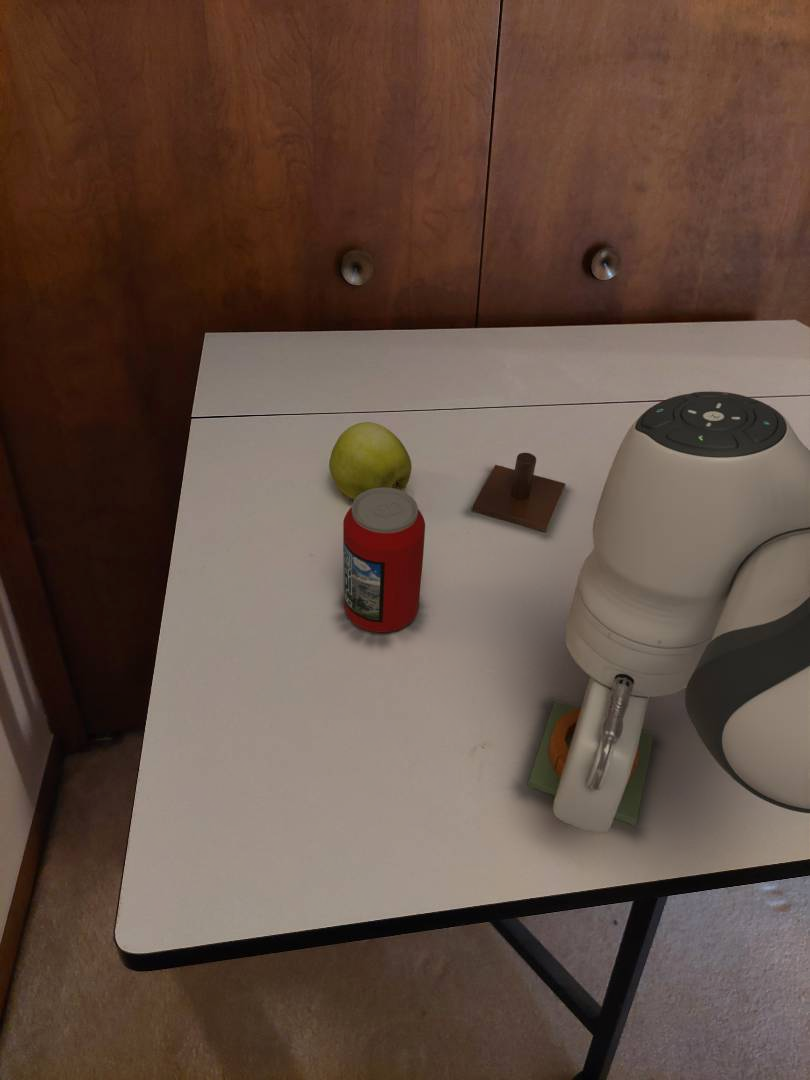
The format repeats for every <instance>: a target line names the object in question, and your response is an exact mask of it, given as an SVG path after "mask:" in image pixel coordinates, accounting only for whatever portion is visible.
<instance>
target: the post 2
mask: <svg viewBox="0 0 810 1080" xmlns="http://www.w3.org/2000/svg"><path fill="white" fill-rule="evenodd" d="M574 709H579V708H578V707H575V706H572V705H570V704H567V703H564V702H560V701H558V700H554V702H553V705H552V707H551V711H550V713H549V716H548V720H547V723H546V726H545V730H544V732H543V735H542V737H541V742H540V743H539V744H540V745H539V747H538V751H537V754H536V757H535V760H534V763H533V766H532V769H531V772H530V775H529V778H528V781H527V787H529V788H532V789H535V790H537V791H540V792H543V793H546V794H548V795H551V796H554V797H555V796H556V793H557V789H558V786H559V783H560V779H561V777H560V776H559V775H558V774H557V773H556V772H555V770H554V769H553V767H552V764H551V760H550V757H549V754H548V747H549V744H550V740H551V737H552V734H553V730H554V727H555V724H556V722H557V720H558V719H560V718H561V717H562V716H564V715H565V714H567V713H568V712H569V711H571V710H572V711H573V710H574ZM654 736H655V734H654V733H652V732H649V731H646V730H643V729H642V731H641V735H640V740H639V747H640V749H639V750H640V754H639V759H638V764H637V767H636V770H635V772H634V775H633V777H632V779H631V780H630V782H629V783H628V784H627V785H626V788H625V790H624V793H623V796H622V799H621V801H620V804H619V806H618V809H617V811H616V814H615V817H614V819H616V820H619V821H621V822H624V823H626V824H629V825H632V826H635V825H636V823H637V821H638V816H639V812H640V807H641V802H642V797H643V791H644V786H645V782H646V776H647V771H648V766H649V762H650V756H651V752H652V748H653V747H652V746H653V741H654ZM572 738H573V735H572V736H570V737H569V738H568V739H566V740H565V741H566V744H567V747H568V750H569V748H570V745H571V741H572Z"/></svg>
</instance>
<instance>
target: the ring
mask: <svg viewBox="0 0 810 1080" xmlns="http://www.w3.org/2000/svg"><path fill="white" fill-rule="evenodd" d="M580 710H581V708H578V709H574V710H573V711H572V710H571V711H569V712H568V713H567V714H565V715H564V716H562V717H561V718H560V719H558V720H557V722H556V724H555V727H554V730H553V734H552V737H551V740H550V744H549V747H548V754H549V757H550V760H551V764H552V767H553V769H554V770H555V772H556V773H557V774H558V775H559V776H560V777H561V776H562V772H563V769H564V765H565V762H566V758H567V755H568V751H569V750H568V747H567V744H566V741H565V740H566V739H568V738H569V737H570V736H572V735H573V734H574V731H575V727H576V724H577V720H578V717H579V713H580ZM639 749H640V747H639V745H638V749H637V753H636V757H635V761H634V764H633V767H632V771H631V774H630V777H629V779H628V782H627V784H628V783H629V782H630V780H631V779H632V777H633V775H634V772H635V770H636V767H637V764H638V759H639V754H640V750H639Z"/></svg>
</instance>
